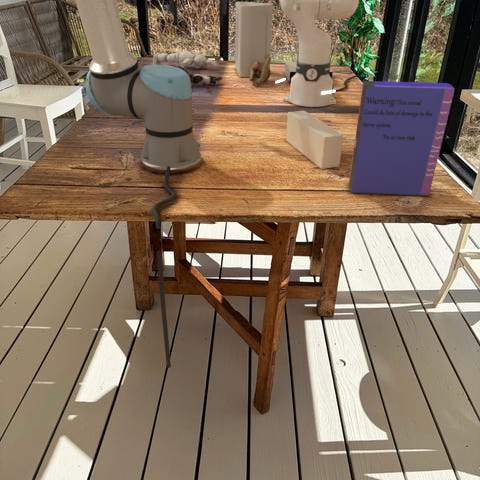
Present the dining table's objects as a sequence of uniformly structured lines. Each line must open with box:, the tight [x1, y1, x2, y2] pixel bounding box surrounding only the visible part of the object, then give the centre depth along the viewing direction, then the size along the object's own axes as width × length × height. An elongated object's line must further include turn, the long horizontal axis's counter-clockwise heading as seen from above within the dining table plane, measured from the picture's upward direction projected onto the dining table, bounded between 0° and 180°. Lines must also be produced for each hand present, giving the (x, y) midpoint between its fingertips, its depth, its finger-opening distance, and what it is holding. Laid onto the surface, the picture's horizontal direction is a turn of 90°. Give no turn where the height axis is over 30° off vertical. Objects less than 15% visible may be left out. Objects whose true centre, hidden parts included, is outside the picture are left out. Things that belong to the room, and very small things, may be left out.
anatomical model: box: [249, 55, 272, 87], centre depth 197 cm, size 13×9×15 cm
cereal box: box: [348, 80, 455, 197], centre depth 104 cm, size 17×5×24 cm, turn 86°
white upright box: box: [234, 1, 274, 78], centre depth 210 cm, size 19×15×28 cm
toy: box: [152, 51, 219, 69], centre depth 222 cm, size 24×25×7 cm
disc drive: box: [284, 61, 333, 85], centre depth 207 cm, size 18×22×5 cm
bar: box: [285, 110, 344, 170], centre depth 129 cm, size 22×5×8 cm, turn 19°
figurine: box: [167, 63, 223, 85], centre depth 194 cm, size 24×8×30 cm
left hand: (198, 26), depth 144 cm, fingers open, 13 cm apart
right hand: (313, 10), depth 134 cm, fingers open, 8 cm apart
